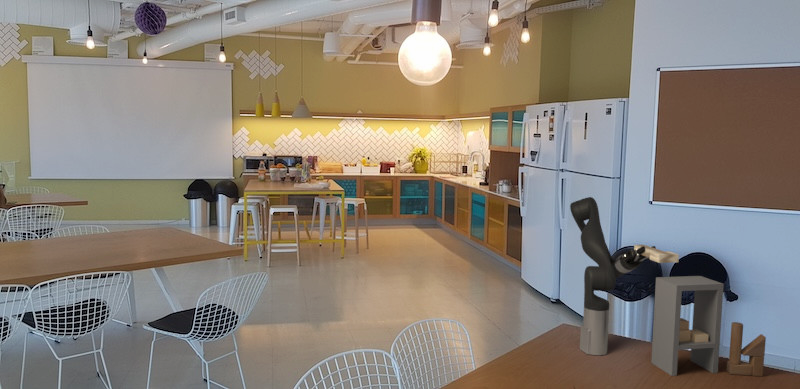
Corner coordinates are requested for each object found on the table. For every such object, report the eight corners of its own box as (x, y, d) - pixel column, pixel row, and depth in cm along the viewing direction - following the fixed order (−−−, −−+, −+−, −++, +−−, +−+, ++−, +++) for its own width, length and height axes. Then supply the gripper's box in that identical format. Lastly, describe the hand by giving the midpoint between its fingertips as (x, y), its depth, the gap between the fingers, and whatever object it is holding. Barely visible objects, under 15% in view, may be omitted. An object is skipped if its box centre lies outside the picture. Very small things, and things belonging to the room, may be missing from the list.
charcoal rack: (671, 375, 208) (676, 285, 205) (651, 362, 219) (656, 277, 216) (717, 372, 211) (723, 283, 208) (695, 360, 223) (700, 275, 219)
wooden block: (763, 376, 208) (767, 326, 206) (730, 374, 209) (733, 324, 208) (758, 372, 212) (762, 323, 210) (726, 370, 213) (729, 321, 211)
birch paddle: (659, 262, 223) (659, 255, 222) (629, 252, 242) (629, 245, 242) (678, 262, 224) (678, 254, 224) (647, 251, 244) (647, 244, 243)
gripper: (610, 253, 251) (630, 239, 236) (641, 253, 254) (663, 239, 238) (614, 270, 248) (635, 258, 233) (645, 270, 251) (668, 257, 235)
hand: (649, 248), depth 235 cm, fingers closed on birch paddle, 4 cm apart
